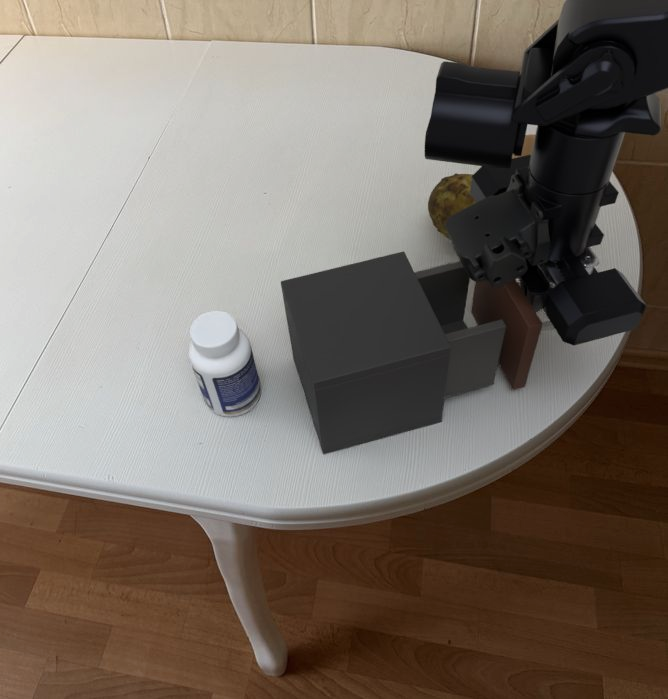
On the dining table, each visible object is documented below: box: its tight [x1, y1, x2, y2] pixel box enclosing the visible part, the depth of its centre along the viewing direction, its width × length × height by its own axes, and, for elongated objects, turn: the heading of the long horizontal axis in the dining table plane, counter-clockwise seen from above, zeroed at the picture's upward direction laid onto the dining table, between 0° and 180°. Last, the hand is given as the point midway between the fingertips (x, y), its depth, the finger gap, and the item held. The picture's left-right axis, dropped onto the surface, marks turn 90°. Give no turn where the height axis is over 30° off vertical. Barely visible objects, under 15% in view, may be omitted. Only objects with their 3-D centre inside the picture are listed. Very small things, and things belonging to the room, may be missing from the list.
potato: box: [427, 173, 476, 241], centre depth 73 cm, size 8×13×8 cm, turn 70°
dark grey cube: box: [280, 251, 451, 455], centre depth 61 cm, size 11×11×11 cm
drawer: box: [414, 260, 555, 398], centre depth 62 cm, size 14×10×9 cm
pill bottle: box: [188, 310, 262, 418], centre depth 62 cm, size 5×5×10 cm
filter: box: [512, 134, 536, 159], centre depth 82 cm, size 5×5×2 cm
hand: (531, 310), depth 63 cm, fingers closed, pressing on drawer
